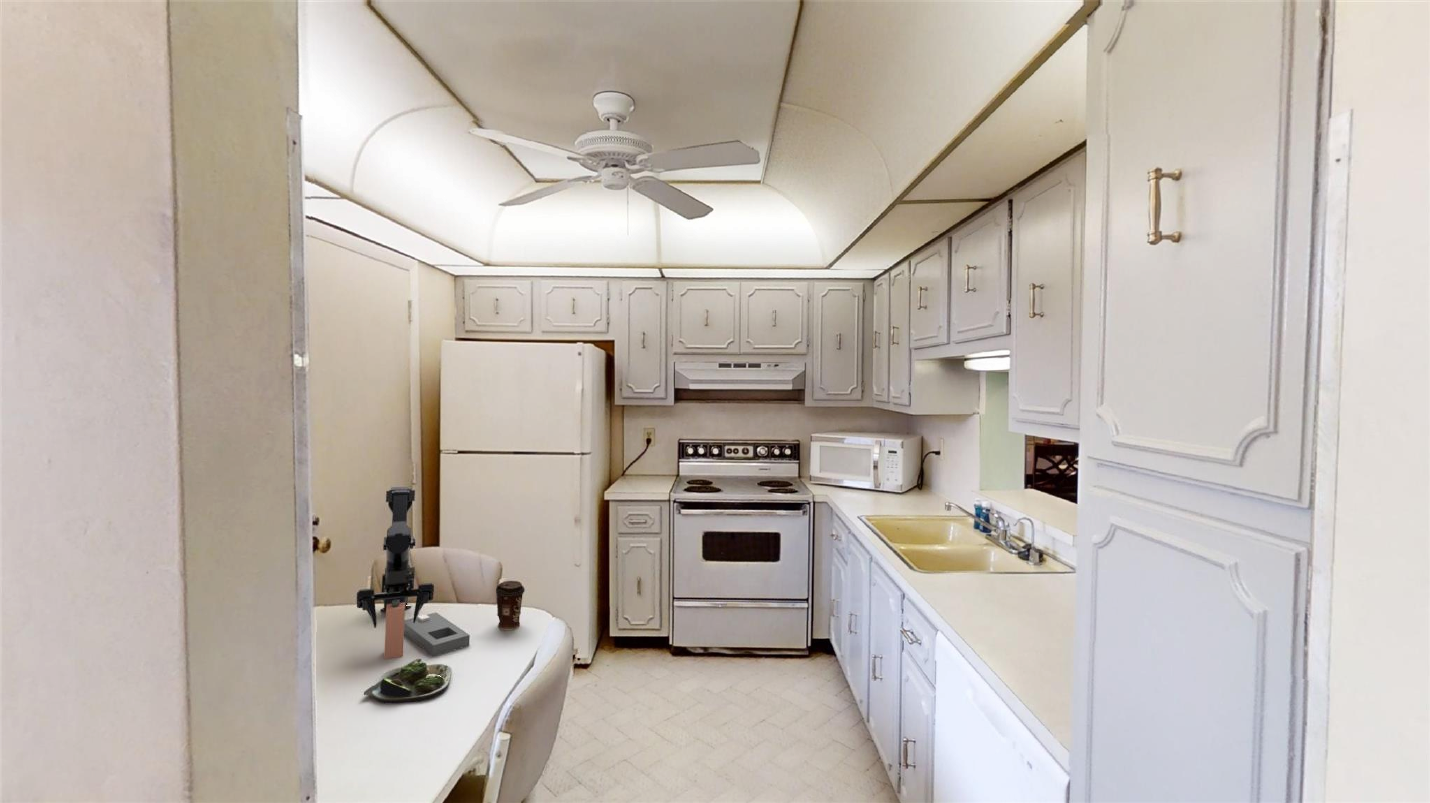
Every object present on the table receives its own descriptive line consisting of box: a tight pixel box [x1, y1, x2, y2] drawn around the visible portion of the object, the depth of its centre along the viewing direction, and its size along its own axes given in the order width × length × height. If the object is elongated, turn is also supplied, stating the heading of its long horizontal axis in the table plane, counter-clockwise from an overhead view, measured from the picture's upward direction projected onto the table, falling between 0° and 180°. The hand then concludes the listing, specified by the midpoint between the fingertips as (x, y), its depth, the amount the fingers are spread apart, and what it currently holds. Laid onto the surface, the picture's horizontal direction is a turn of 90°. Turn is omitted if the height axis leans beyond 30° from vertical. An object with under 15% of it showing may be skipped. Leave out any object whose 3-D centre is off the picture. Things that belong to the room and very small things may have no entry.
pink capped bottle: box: [383, 599, 406, 659], centre depth 158 cm, size 4×4×14 cm
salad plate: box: [363, 658, 453, 704], centre depth 144 cm, size 19×18×5 cm
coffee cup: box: [495, 580, 526, 631], centre depth 180 cm, size 9×8×13 cm
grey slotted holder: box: [404, 612, 471, 657], centre depth 169 cm, size 22×10×4 cm, turn 48°
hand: (395, 624), depth 158 cm, fingers open, 9 cm apart
